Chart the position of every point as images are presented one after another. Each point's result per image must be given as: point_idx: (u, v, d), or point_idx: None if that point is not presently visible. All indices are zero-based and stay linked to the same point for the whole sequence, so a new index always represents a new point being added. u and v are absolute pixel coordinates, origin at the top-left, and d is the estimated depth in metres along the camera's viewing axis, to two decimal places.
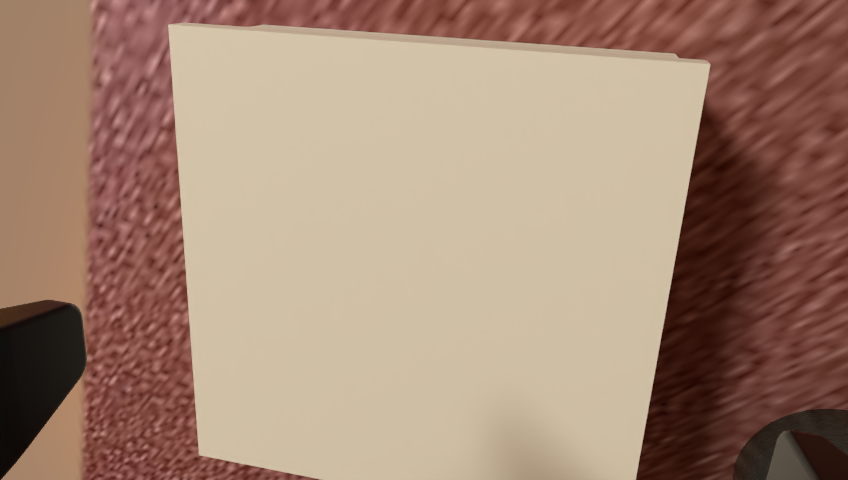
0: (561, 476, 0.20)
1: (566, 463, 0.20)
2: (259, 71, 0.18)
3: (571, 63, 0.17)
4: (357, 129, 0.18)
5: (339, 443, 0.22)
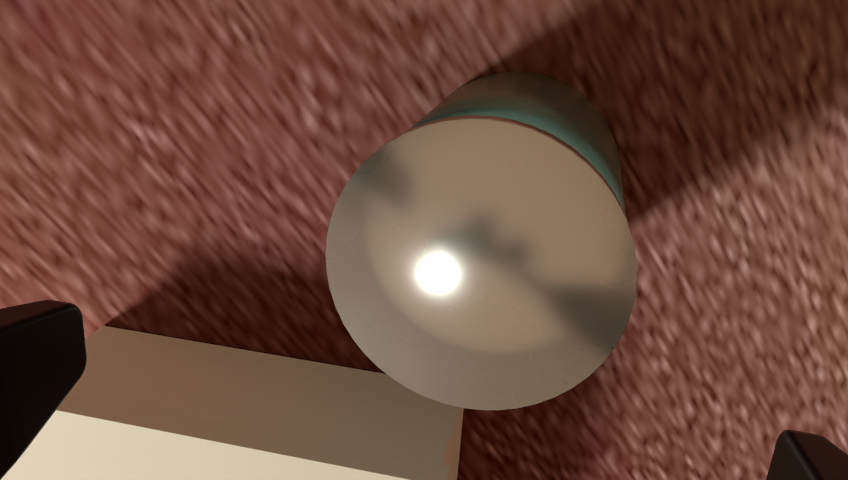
0: None
1: None
2: None
3: None
4: None
5: None
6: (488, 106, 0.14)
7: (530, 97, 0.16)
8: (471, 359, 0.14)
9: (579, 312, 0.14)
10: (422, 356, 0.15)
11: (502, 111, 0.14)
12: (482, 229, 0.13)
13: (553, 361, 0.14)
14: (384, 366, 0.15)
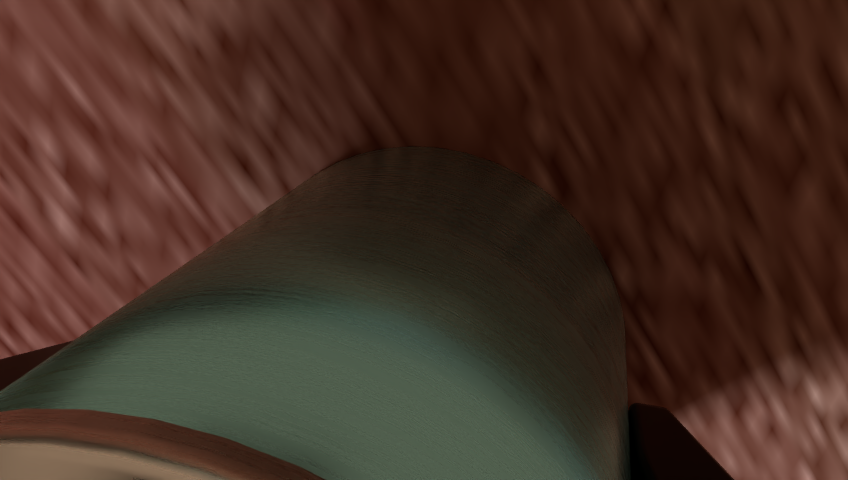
0: None
1: None
2: None
3: None
4: None
5: None
6: (245, 308, 0.05)
7: (402, 245, 0.06)
8: None
9: None
10: None
11: (262, 343, 0.05)
12: None
13: None
14: None
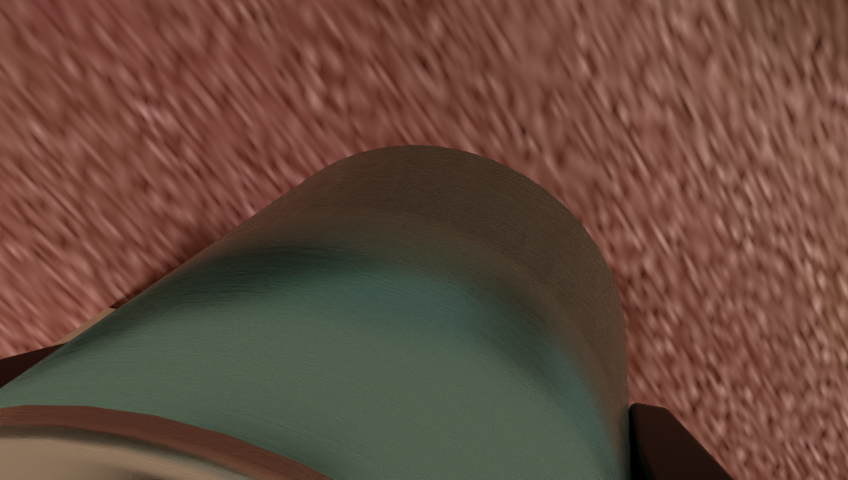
0: None
1: None
2: None
3: None
4: None
5: None
6: (245, 305, 0.05)
7: (403, 242, 0.06)
8: None
9: None
10: None
11: (263, 340, 0.05)
12: None
13: None
14: None
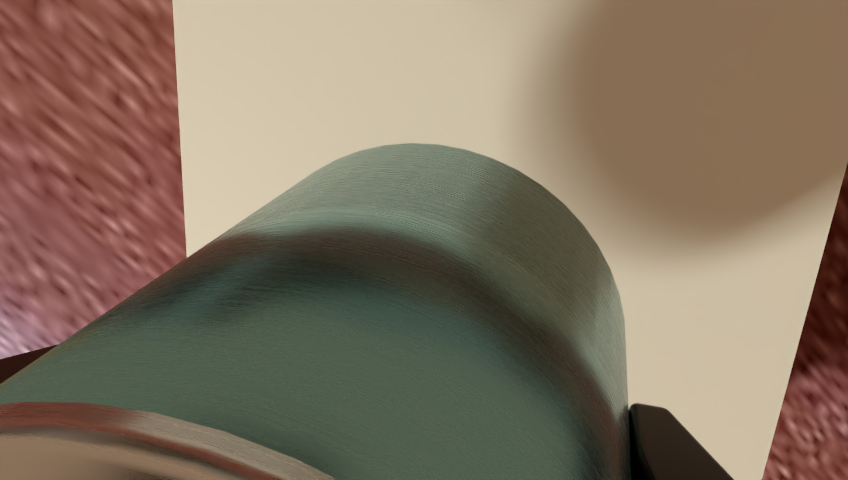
0: (774, 19, 0.13)
1: (747, 11, 0.13)
2: None
3: (183, 27, 0.15)
4: None
5: (717, 355, 0.15)
6: (243, 302, 0.05)
7: (402, 240, 0.06)
8: None
9: None
10: None
11: (261, 337, 0.05)
12: None
13: None
14: None
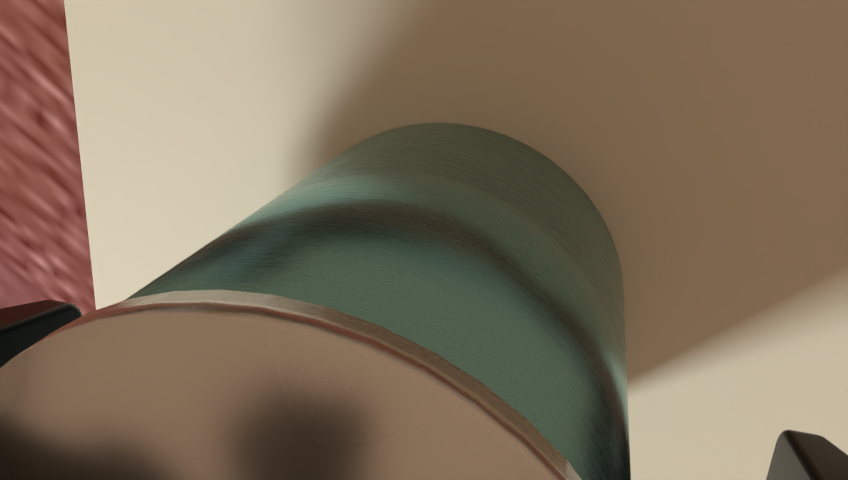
0: (833, 31, 0.10)
1: (797, 22, 0.10)
2: None
3: (79, 38, 0.12)
4: None
5: (749, 453, 0.12)
6: (319, 234, 0.06)
7: (437, 194, 0.08)
8: None
9: None
10: None
11: (338, 256, 0.06)
12: None
13: None
14: None
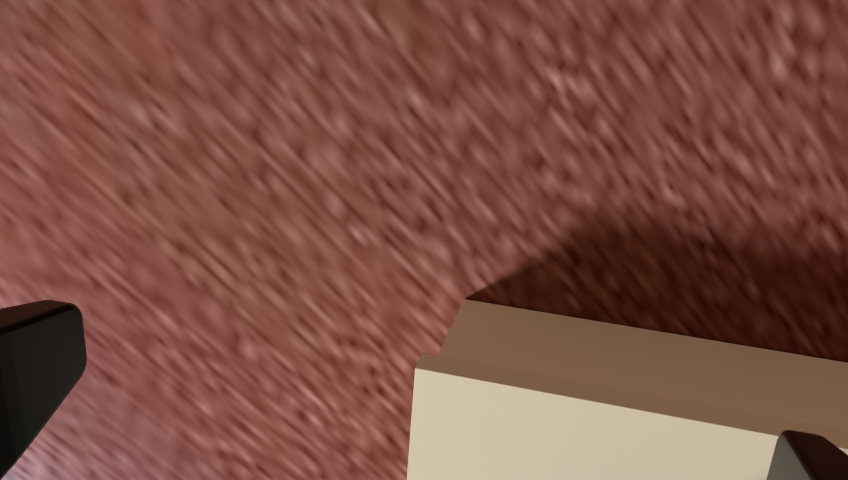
0: None
1: None
2: None
3: (415, 469, 0.19)
4: None
5: None
6: None
7: None
8: None
9: None
10: None
11: None
12: None
13: None
14: None
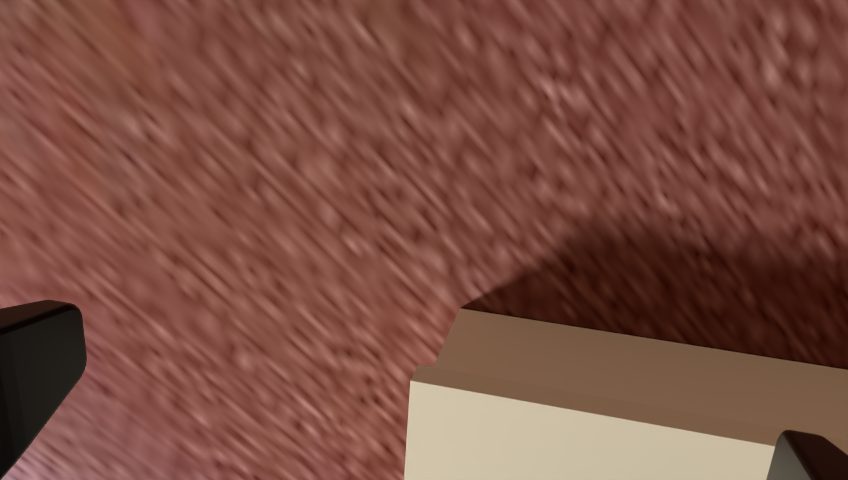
0: None
1: None
2: None
3: None
4: None
5: None
6: None
7: None
8: None
9: None
10: None
11: None
12: None
13: None
14: None
